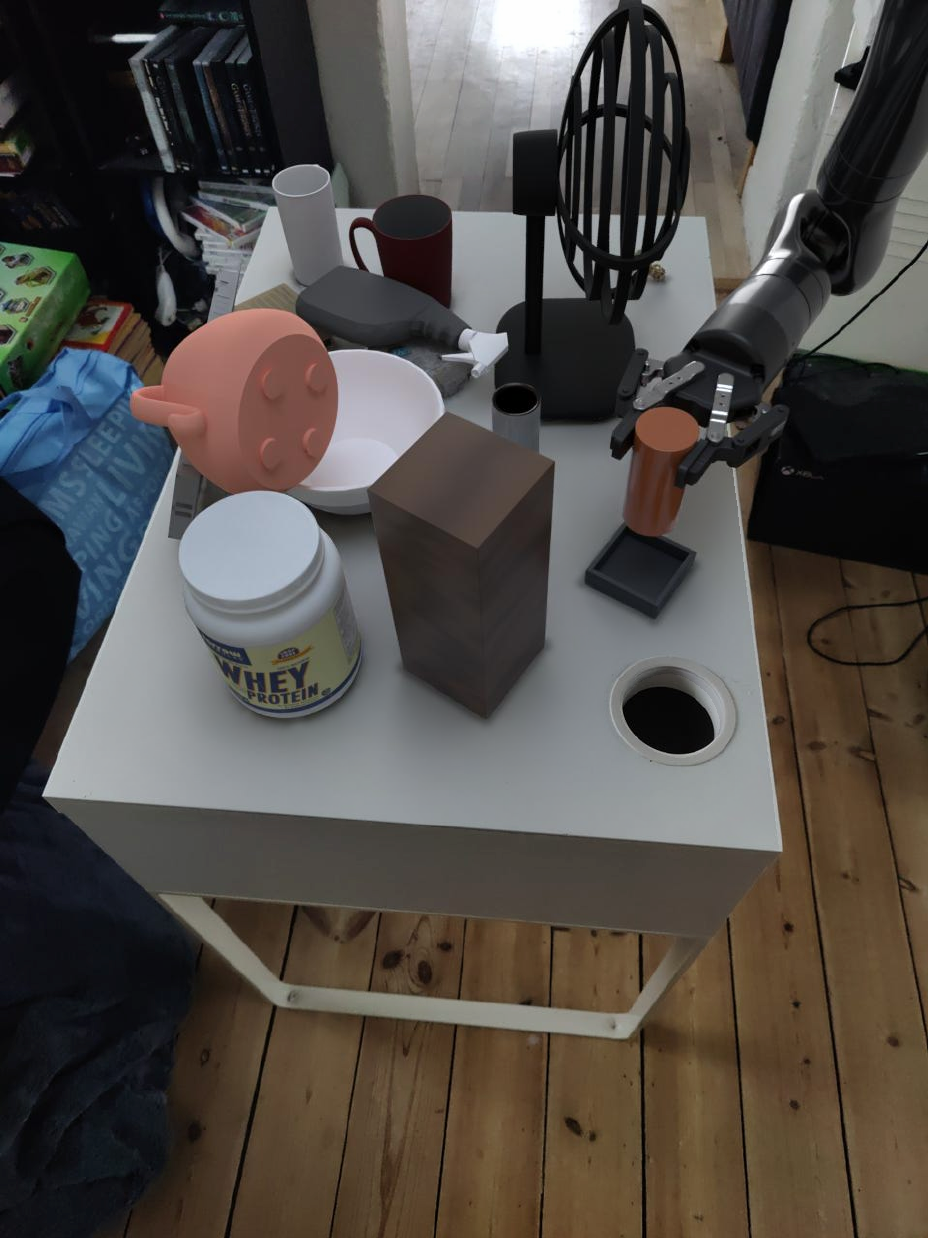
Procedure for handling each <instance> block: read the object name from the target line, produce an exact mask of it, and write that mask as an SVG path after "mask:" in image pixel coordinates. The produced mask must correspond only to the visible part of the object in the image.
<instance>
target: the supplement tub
mask: <svg viewBox="0 0 928 1238" xmlns="http://www.w3.org/2000/svg"><path fill="white" fill-rule="evenodd" d="M177 556H178V557H177V558H178V564H179V568H180V570H181V573H182V583H181V585H182V586H181V591H182V599H183V604H184V606H185V609H186V612H187V614H188V616H189V618H190V620H191V621H192V623H193V624H194V625H195V627H196V629H197V631H198V633H199V636H201V637H200V638H201V639H202V640H203V642H204V644H205V646H206V647H207V649H208V651H209V653H210V655H211V657H212V659H213V661H214V663H215V664H216V667H217V668H218V670H219V671H220V674H221V675H222V677H223V679H224V680H225V683H226V685H227V688H228V689H229V691H230V693H232V695H233V696H234V697H235V698H236V699H237V701H239V702H240V703H241V704H242V705H243V706H245V707H246V708H247V709H249V710H251V711H252V712H255V713H256V714H257V713H258V714H260V715H263V716H266V717H271V718H278V719H291V718H292V719H293V718H299V717H303V716H304V717H305V716H308V715H312V714H313V713H316V712H318V711H319V712H320V711H321V710H324V709H325V708H327V707H329V706H330V705H332V704H334V703H335V702H336V701H337V700H338V699H340V698H341V697H342V696H343V695H344V694H345V693H346V691H347V690H348V689H349V688H350V686H351V685H352V684H353V682H354V680H355V678H356V676H357V674H358V671H359V669H360V666H361V661H362V654H363V643H362V642H363V641H362V635H361V632H360V629H359V626H358V623H357V617H356V614H355V611H354V606H353V603H352V599H351V595H350V592H349V591H350V590H349V587H348V584H347V579H346V576H345V572H344V568H343V562H342V559H341V555H340V553H339V550H338V549H337V547H336V545H335V543H334V541H333V540H332V539H331V537H330V536H329V535H328V533H326V532H325V531H324V529H322V528H321V527H320V525H319V524H318V522H317V520H316V517H315V515H314V514H313V512H312V511H311V510H310V509H309V507H307V506H306V505H305V503H303V502H302V501H300V500H298V499H296V498H294V497H292V496H291V495H289V494H286V493H283V494H282V493H278V492H272V491H250V492H243V493H239V494H235V495H234V494H231V495H229V496H227V497H224V498H222V499H219V500H218V501H215V502H214V503H212V504H211V505H209V506H208V507H206V508H205V509H204V510H202V511H201V512H200V513H199V514H197V516H195V519H194V520H193V521H192V522H191V523H190V525H189V526H188V528H187V529H186V531H185V533H184V535H183V537H182V539H181V540H180V542H179V547H178V555H177Z"/></svg>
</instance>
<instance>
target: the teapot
mask: <svg viewBox="0 0 928 1238" xmlns="http://www.w3.org/2000/svg"><path fill="white" fill-rule="evenodd" d="M328 352H329V351H328V349H327V350H326V348H325V346H324V344H323V342H322V341H321V339H320V338H319V336H318V335H317V333H316V332H315V331H314V329H313V328H312V327H311V326H310V325H309V324H308V323H306V322H305V321H304V320H302V319H301V318H300V317H298V316H296V315H294V314H292V313H290V312H286V311H283V310H277V309H249V310H242V311H236V312H233V313H229V314H226V315H223V316H220V317H218V318H216V319H214V320H212V321H210V322H209V323H207V322H206V323H205V324H203V325H202V326H200V327H199V328H197V329H196V330H194V331H193V332H191V333H190V334H189V335H187V336H186V337H185V338H183V340H181V342H180V343H178V345H177V346H176V347H175V348H174V349H173V351H172V352H171V354H170V355H169V357H168V359H167V361H166V363H165V365H164V368H163V371H162V376H161V381H160V385H150V386H144V387H141V388H138V389H136V390H134V391H133V392H132V393H131V395H130V398H129V409H130V412H131V414H132V416H133V417H134V418H135V419H136V420H138V421H139V422H142V423H145V424H149V425H153V426H159V427H165V428H168V430H169V432H170V433H171V435H172V437H173V439H174V440H175V442H176V445H178V447H179V449H180V451H181V450H182V452H183V453H184V455H185V456H186V457H187V459H188V460H189V461H190V462H191V464H192V465H193V466H194V467H195V468H196V469H197V470H198V471H199V472H200V473H201V474H202V475H203V477H204V478H205V479H207V480H208V481H210V482H211V483H212V484H214V485H215V486H217V487H218V488H220V489H222V490H224V491H225V492H226V493H228V494H231V495H235V494H239V493H243V492H250V491H272V492H278V493H282V494H286V493H285V492H286V491H288V490H290V489H291V488H293V487H295V486H296V485H298V484H299V483H300V482H302V481H303V480H304V479H306V478H307V477H308V476H309V475H310V474H311V473H312V472H313V471H314V469H315V468H316V467H317V466H318V464H319V463H320V461H321V460H322V458H323V456H324V454H325V452H326V450H327V448H328V446H329V443H330V441H331V438H332V435H333V432H334V428H335V424H336V418H337V411H338V383H337V377H336V373H335V368H334V366H333V363H332V360H331V358H330V356H329V354H328Z"/></svg>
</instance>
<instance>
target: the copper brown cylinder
mask: <svg viewBox="0 0 928 1238" xmlns="http://www.w3.org/2000/svg"><path fill="white" fill-rule="evenodd" d="M700 430H701V429H700V426H698V423H697V421H696V420H695V419H694V418H693V417H692V416H691V415H690V414H688V413H687V412H685V411H683V410H680V409H677V408H672V407H658V408H654V409H651V410H648V411H646V412H645V413H643V414H642V415H641V416H640V417H639V418H638V420H637V422H636V426H635V432H634V439H633V445H632V447H631V451H630V459H629V465H628V472H627V478H626V484H625V490H624V498H623V504H622V511H621V514H622V520H623V522H625V523H626V525H627V526H628V527H629V528H630V529H631V530H633V531H634V532H636V533H638V534H641V535H645V536H661V535H662V536H664V535H667V534H670V532H672V531H673V530H674V529H675V528H676V527H677V525H678V523H679V520H680V517H681V512H682V509H683V505H684V499H685V496H686V492H687V487H688V484H686V486H685V487H684V488H683V489H680V488H678V487H676V486H674V481H675V476H676V472H677V469H678V467H679V466H680V464H681V463H682V462H683V460H684V459H685V458H686V456H687V455H688V454H689V452H690V451H691V450H692V449H693V447H694V446H695V445H696V443H697V442H698V441H699V439H700Z"/></svg>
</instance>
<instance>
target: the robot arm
mask: <svg viewBox="0 0 928 1238" xmlns="http://www.w3.org/2000/svg"><path fill="white" fill-rule="evenodd" d="M880 7H881V8H880V11H879V13H878V17H877V22H876V26H875V30H874V33H873V37H872V40H871V44H870V47H869V49H868V54H867V58H866V61H865V64H864V67H863V70H862V72H861V73H862V74H861V76H860V78H859V82H858V84H857V87H856V89H855V92H854V93H853V95H852V98H851V101H850V103H849V105H848V107H847V110H846V112H845V114H844V116H843V117H842V120H841V122H840V124H839V125H838V128H837V130H836V132H835V134H834V136H833V139H832V141H831V143H830V145H829V147H828V149H827V151H826V153H825V155H824V157H823V159H822V162H821V164H820V166H819V168H818V171H817V175H816V180H815V181H816V182H815V186H816V188H812V189H811V188H809V189H804V190H800V191H798V192H797V193H794V194H793V195H791V196H790V197H789V198H788V199H786V201H784V203H783V204H782V206H781V207H780V208H779V210H778V211H777V213H776V214H775V216H774V218H773V221H772V223H771V225H770V228H769V231H768V233H767V237H766V241H765V244H764V247H763V248H764V249H763V252H762V256H761V258H760V260H759V262H758V263H757V265H756V266H755V267H754V268H753V269H752V270H751V272H750V273H749V274H748V276H746V278H745V279H744V280H743V281H742V283H740V285H739V286H738V287H737V288H735V289H734V290H733V291H732V292H730V293H729V294H728V295H727V296H726V297H725V298H724V300H722V302H721V303H720V304H719V305H718V306H717V308H716V309H715V310H714V311H712V313H711V314H710V315H709V317H708V318H707V319H706V320H705V322H704V323H703V324H702V325H701V326H700V328H699V329H698V330H697V331H695V333H694V334H693V336H692V337H691V338H690V339H689V340H688V341H687V343H686V344H685V345H684V347H683V349H682V350H681V351H680V352H679V353H677V354H676V355H674V356H671V357H669V358H667V359H665V361H663V360H658V359H653V358H649V351H648V350H647V349H646V348H643V347H639V348H636V350H635V351H634V353H633V355H632V357H631V360H630V362H629V364H628V367H627V369H626V371H625V374H624V376H623V378H622V381H621V383H620V385H619V388H618V392H617V399H616V407H615V415H614V416H615V417H616V418H618V419H621V420H620V421H619V422H618V424H617V425H616V426H614V428H613V429H612V431H611V435H610V436H611V437H610V443H609V450H611V454H610V457H611V458H613V459H615V460H617V461H621V460H622V459H623V458H624V457H625V456H626V454H627V453H628V452H629V451H630V450H631V449H632V445H633V439H634V432H635V426H636V422H637V420H638V418H639V417H640V416H641V415H642V414H643V413H645V412H646V411H648V410H651V409H654V408H658V407H672V408H677V409H680V410H683V411H685V412H687V413H688V414H690V415H691V416H692V417H693V418H694V419H695V420H696V421H697V423H698V426H699V427H700V428H703V429H706V430H705V436H704V438H702V437H699V439H698V442H697V443H696V445H695V446H694V447H693V449H692V450H691V451H690V452H689V454H688V455H687V456H686V458H685V459H684V460H683V462H682V463H681V464H680V466H679V467H678V469H677V472H676V476H675V481H674V486H676V487H678V488H680V489H683V488H684V487H685V486H686V484H687V486H690V487H693V486H694V485H697V484H698V483H699V481H700V480H701V478H703V475H705V473H706V472H707V471H708V469H709V468H710V466H711V465H713V464H715V463H716V462H725V463H726V465H727V466H728V467H729V468H731V469H738V468H740V467H742V466H743V465H744V464H745V463H747V462H748V461H750V460H751V459H752V458H753V457H755V456H756V455H757V454H759V453H760V452H762V450H764V449H765V448H767V447H768V446H769V445H771V444H772V443H774V441H776V440H777V439H779V438H780V437H781V436H782V434H783V430H784V428H785V426H786V424H787V421H788V417H789V414H790V408H789V407H788V406H787V405H785V404H780V403H779V404H776V405H774V406H771V405H769V404H768V403H766V402H765V401H763V395H764V393H766V391H767V390H768V389H769V387H770V386H771V384H772V383H773V382H774V380H775V379H776V378H777V377H778V375H779V374H780V372H781V371H782V370H783V369H784V368H785V367H787V365H788V364H789V362H791V359H793V355H794V354H795V352H796V351H797V349H798V348H799V346H800V344H801V342H802V340H803V337H804V336H805V334H806V333H807V332H808V330H809V329H810V328H811V326H812V325H813V323H815V321H816V319H817V318H818V317H819V316H820V314H822V312H823V311H824V308H825V307H826V306H827V304H828V302H829V301H830V297H831V296H834V297H845V296H850V295H853V294H855V293H857V292H859V291H860V290H862V289H864V288H865V287H866V286H867V285H868V284H869V283H870V282H871V281H872V279H874V277H875V275H876V274H877V273H878V271H879V269H880V267H881V266H882V263H883V261H884V259H885V256H886V254H887V249H888V247H889V244H890V239H891V234H892V229H893V224H894V222H893V221H894V218H895V214H896V210H897V207H898V203H899V201H900V199H901V196H902V194H903V193H904V191H905V189H906V188H907V186H908V184H909V183H910V181H911V179H912V178H913V176H914V174H915V173H916V172H917V170H918V168H919V167H920V165H921V163H922V162H923V160H924V159H925V157H926V156H927V154H928V0H882V3H881V6H880ZM657 378H661V381H659V382H658V383H656V384H655V386H653V389H652V390H651V391H649V392H648V393H647V392H646V394H644V395H642V396H640V397H639V398H638V394H639V393H640V390H641V387H642V388H647V386H648V384H650V383H652V381H653V380H654V379H657ZM752 417H753V421H752V422H751V423H750V424H748V425H747V426H746V427H744V428H743V429H742V430H740V431H739V432H737V433H736V434H735V435H734V436H732V437H731V436H725V431H726V425H728V424H731V423H735V422H738V421H742V420H745V419H749V418H752Z"/></svg>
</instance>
